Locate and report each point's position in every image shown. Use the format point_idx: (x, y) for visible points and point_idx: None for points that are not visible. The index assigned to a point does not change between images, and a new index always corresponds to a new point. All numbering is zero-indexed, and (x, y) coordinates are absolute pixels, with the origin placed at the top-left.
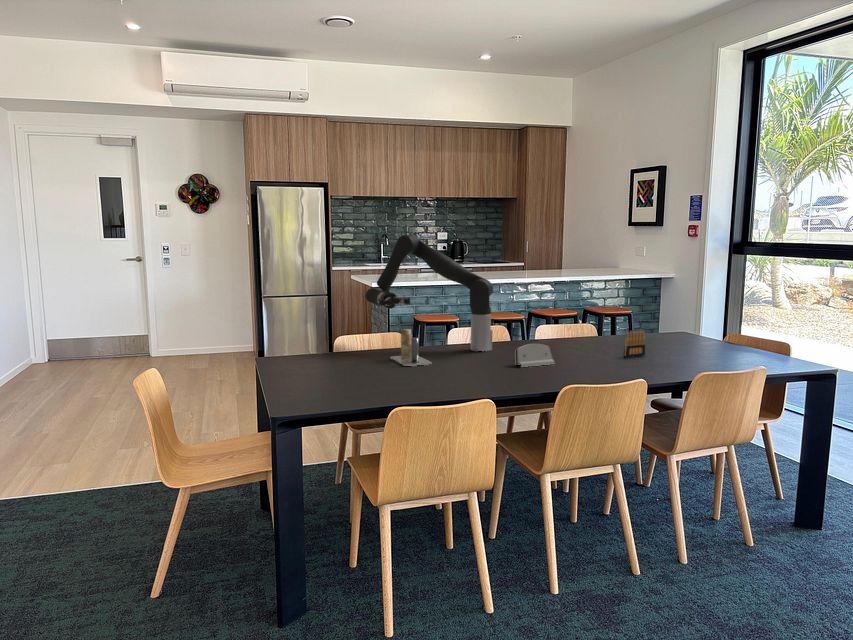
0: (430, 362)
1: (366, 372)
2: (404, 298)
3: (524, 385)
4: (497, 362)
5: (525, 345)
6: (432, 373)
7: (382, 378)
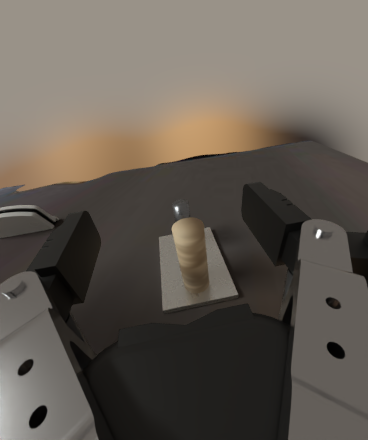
0: (161, 237)
1: None
2: (12, 307)
3: (116, 179)
4: None
5: (22, 205)
6: None
7: None
